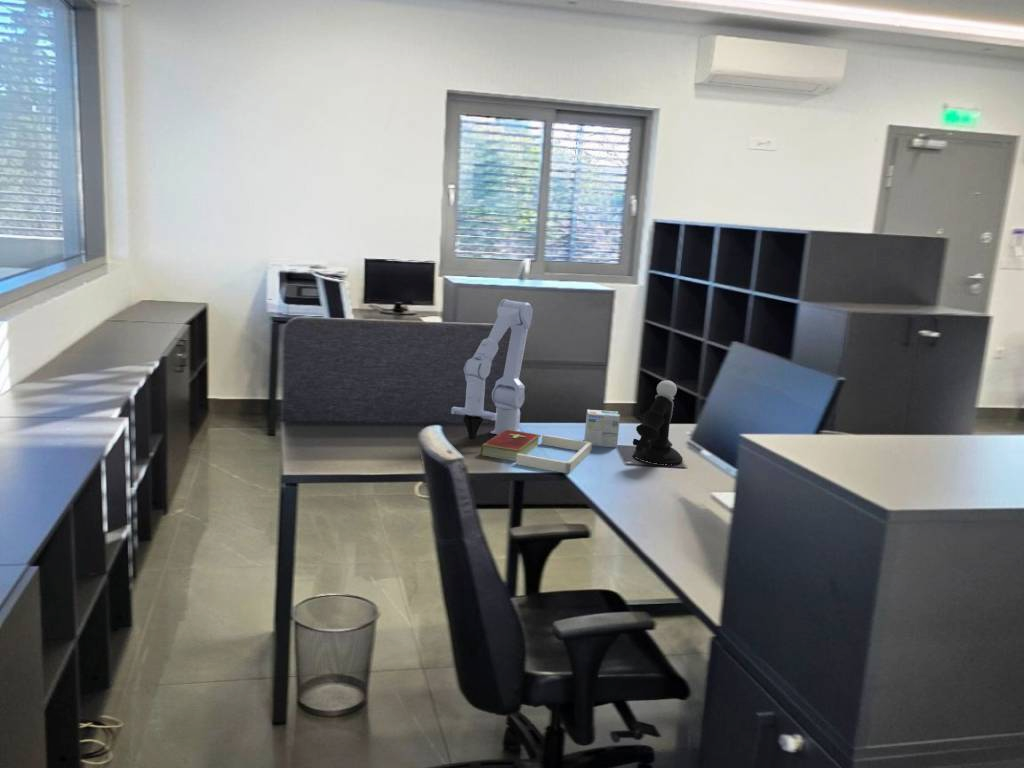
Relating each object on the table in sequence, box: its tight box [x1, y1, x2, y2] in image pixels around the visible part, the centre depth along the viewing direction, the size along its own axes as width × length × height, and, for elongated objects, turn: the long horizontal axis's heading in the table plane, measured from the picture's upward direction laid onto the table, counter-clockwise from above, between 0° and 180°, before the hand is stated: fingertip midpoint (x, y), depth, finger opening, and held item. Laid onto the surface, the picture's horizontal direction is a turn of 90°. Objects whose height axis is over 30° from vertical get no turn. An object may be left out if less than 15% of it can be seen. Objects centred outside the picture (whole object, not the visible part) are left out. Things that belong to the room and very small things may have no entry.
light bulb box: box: [583, 409, 621, 448], centre depth 280 cm, size 11×7×11 cm, turn 89°
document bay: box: [515, 434, 593, 474], centre depth 261 cm, size 26×16×3 cm, turn 161°
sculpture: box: [632, 379, 684, 466], centre depth 264 cm, size 15×24×25 cm, turn 147°
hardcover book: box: [480, 429, 541, 462], centre depth 265 cm, size 12×21×4 cm, turn 161°
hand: (472, 439), depth 270 cm, fingers closed
